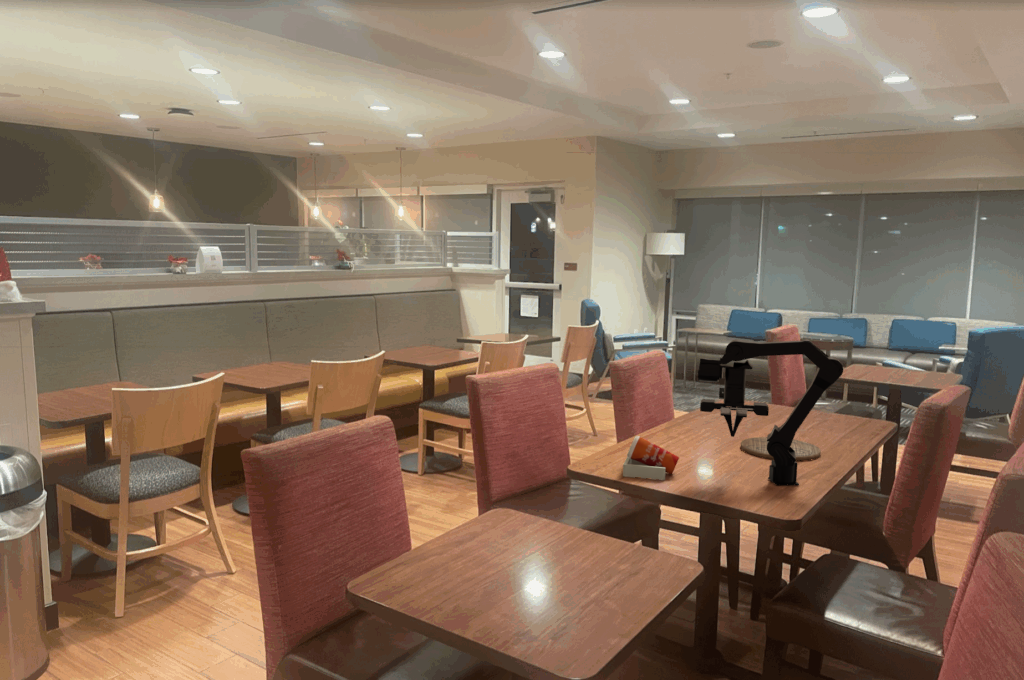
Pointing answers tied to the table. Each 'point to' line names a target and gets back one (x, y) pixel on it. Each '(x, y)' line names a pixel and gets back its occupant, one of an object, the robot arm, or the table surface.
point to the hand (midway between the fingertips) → (732, 436)
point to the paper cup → (652, 455)
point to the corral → (642, 470)
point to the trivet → (801, 448)
